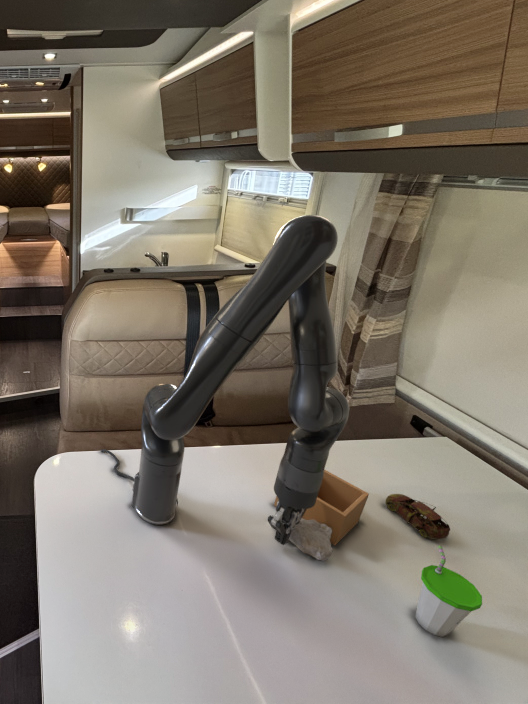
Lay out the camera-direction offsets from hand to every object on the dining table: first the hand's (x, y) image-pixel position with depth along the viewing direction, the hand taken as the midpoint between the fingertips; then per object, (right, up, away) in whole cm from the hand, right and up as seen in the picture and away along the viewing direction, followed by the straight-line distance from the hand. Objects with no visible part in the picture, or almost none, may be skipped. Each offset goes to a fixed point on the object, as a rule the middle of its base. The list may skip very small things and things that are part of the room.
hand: (280, 540), depth 92 cm
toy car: (+36, +1, +7) cm, 36 cm away
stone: (+6, -2, +2) cm, 6 cm away
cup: (+19, -8, -14) cm, 25 cm away
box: (+14, +2, +9) cm, 17 cm away
